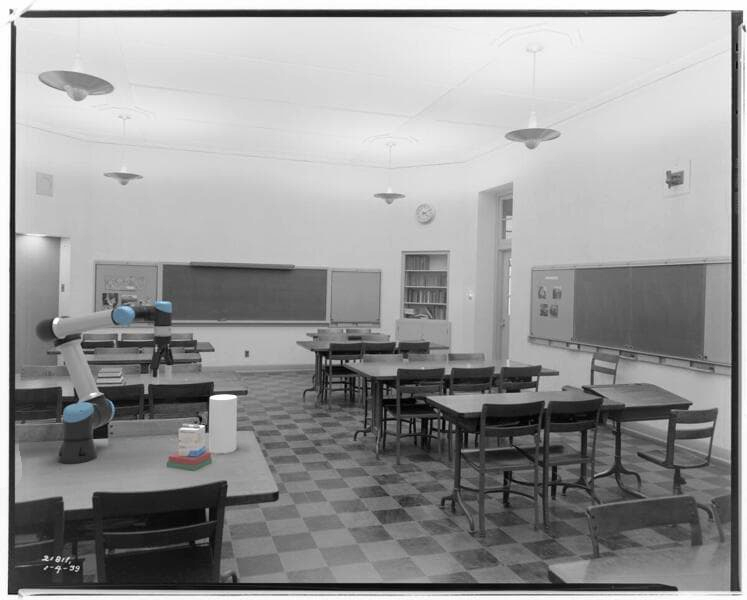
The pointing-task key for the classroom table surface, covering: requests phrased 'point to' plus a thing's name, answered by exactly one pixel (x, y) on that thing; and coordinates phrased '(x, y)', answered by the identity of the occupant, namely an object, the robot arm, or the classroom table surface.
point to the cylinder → (222, 423)
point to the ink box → (191, 440)
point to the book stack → (189, 461)
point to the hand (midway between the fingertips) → (162, 381)
